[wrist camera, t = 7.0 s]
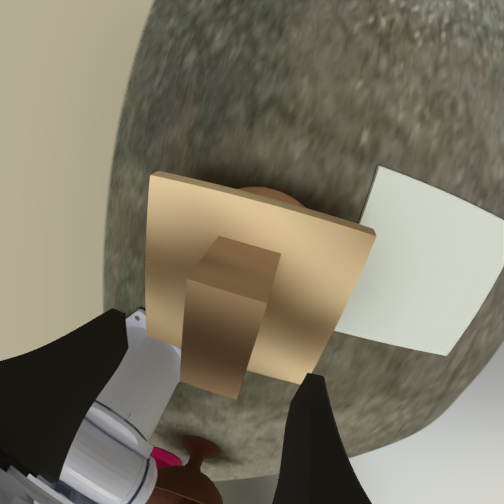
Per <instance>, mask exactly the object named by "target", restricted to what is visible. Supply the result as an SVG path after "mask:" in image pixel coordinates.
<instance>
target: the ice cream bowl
mask: <svg viewBox="0 0 504 504" xmlns="http://www.w3.org/2000/svg"><path fill="white" fill-rule="evenodd" d="M182 443H183V445H184V447H185V448H186V449H187V450H188V451H189V452H190V453H191V456H190V458H189V461H188V463H187V464H186V465H185V466H178V465H174V466H167V467H164V468H161V469H157V480H156V484H155V487H154V489H153V491H152V493H151V495H150V497H149V499H148V500H147V502H146V504H223V500H222V497H221V495H220V493H219V491H218V490H217V488H216V486H215V485H214V483H213V482H212V481H211V480H210V479H209V478H208V477H207V476H206V475H204V474H203V473H201V470H200V466H201V464H202V461H203V459H204V458H212V457H215V456H218V455H219V454H220V453H221V452H220V449H219V447H218V446H216V445H215V444H213V443H212V442H210V441H208V440H205V439H202V438H199V437H193V436H186V437H184V438H182Z"/></svg>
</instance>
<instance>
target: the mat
mask: <svg viewBox="0 0 504 504" xmlns="http://www.w3.org/2000/svg"><path fill="white" fill-rule="evenodd" d="M358 224H360V225H363V226H367V227H370V228H373V229H374V231H375V234H376V239H375V241H374V244H373V246H372V249H371V251H370V253H369V256H368V258H367V260H366V263H365V265H364V267H363V270H362V272H361V274H360V277H359V279H358V281H357V283H356V285H355V288H354V290H353V292H352V294H351V296H350V298H349V301H348V303H347V305H346V307H345V309H344V311H343V313H342V315H341V317H340V319H339V321H338V323H337V325H336V327H335V329H334V331H338V332H342V333H346V334H350V335H354V336H358V337H362V338H366V339H370V340H375V341H379V342H383V343H388V344H392V345H397V346H401V347H406V348H410V349H415V350H420V351H425V352H429V353H434V354H439V355H445V356H447V355H448V353H449V352H450V351H451V349H452V348H453V347H454V345H455V344H456V342H457V341H458V340H459V338H460V337H461V335H462V334H463V333H464V331H465V330H466V328H467V327H468V325H469V324H470V322H471V321H472V319H473V318H474V316H475V315H476V313H477V311H478V310H479V308H480V307H481V305H482V303H483V302H484V300H485V298H486V297H487V295H488V293H489V292H490V290H491V288H492V286H493V285H494V283H495V281H496V279H497V277H498V276H499V274H500V272H501V270H502V268H503V266H504V220H503V219H501V218H500V217H498V216H496V215H494V214H492V213H490V212H488V211H486V210H484V209H482V208H480V207H478V206H476V205H474V204H472V203H470V202H468V201H465V200H463V199H461V198H459V197H457V196H455V195H452V194H450V193H448V192H446V191H443V190H441V189H439V188H437V187H434V186H432V185H429V184H427V183H425V182H422V181H420V180H417V179H415V178H412V177H410V176H407V175H404V174H402V173H399V172H397V171H394V170H391V169H389V168H386V167H383V166H380V165H378V167H377V170H376V173H375V176H374V179H373V182H372V185H371V188H370V191H369V194H368V197H367V200H366V203H365V206H364V209H363V212H362V214H361V217H360V220H359V223H358Z"/></svg>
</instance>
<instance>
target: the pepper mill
mask: <svg viewBox="0 0 504 504" xmlns="http://www.w3.org/2000/svg"><path fill="white" fill-rule="evenodd" d="M150 456H151V457H153V458H154V459H155V462H156V468H157V469H161V468H164V467H167V466H174V465H178V466H181V461H180V459H179V458H177V457H176V456H175V455H173V454H171V453H169V452H167V451H165V450H162V449H160V448H156V447H153V449H152V452H151V454H150ZM145 504H146V503H145Z"/></svg>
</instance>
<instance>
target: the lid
mask: <svg viewBox="0 0 504 504" xmlns="http://www.w3.org/2000/svg"><path fill="white" fill-rule="evenodd" d="M375 239H376V234H375V231H374V229H373V228H370V227H367V226H363V225H360V224H357V223H354V222H351V221H348V220H344V219H341V218H338V217H335V216H331V215H328V214H325V213H321V212H318V211H315V210H311V209H308V208H304V207H301V206H297V205H294V204H290V203H287V202H283V201H279V200H276V199H272V198H268V197H265V196H261V195H257V194H253V193H250V192H246V191H242V190H238V189H234V188H230V187H226V186H222V185H218V184H214V183H210V182H205V181H201V180H197V179H193V178H188V177H184V176H180V175H175V174H171V173H166V172H161V171H157V172H155V173H153V174H151V175H150V182H149V195H148V210H147V228H146V259H145V307H146V335H147V336H149V337H152V338H154V339H157V340H160V341H162V342H165V343H167V344H170V345H173V346H175V347H178V348H181V361H180V380H179V381H181V382H184V383H187V384H189V385H192V386H195V387H198V388H201V389H204V390H207V391H210V392H213V393H216V394H219V395H222V396H225V397H229V398H232V399H235V400H237V397H238V394H239V391H240V388H241V385H242V382H243V379H244V376H245V373H246V370H248V371H252V372H255V373H259V374H262V375H266V376H269V377H273V378H277V379H281V380H285V381H289V382H293V383H297V384H301V383H302V382H303V380H304V378H305V376H306V374H307V373H312V371H313V369H314V367H315V365H316V363H317V362H318V360H319V358H320V356H321V354H322V352H323V351H324V349H325V347H326V345H327V343H328V341H329V339H330V337H331V335H332V333H333V331H334V329H335V327H336V325H337V323H338V321H339V319H340V317H341V315H342V313H343V311H344V309H345V307H346V305H347V303H348V301H349V298H350V296H351V294H352V292H353V290H354V288H355V285H356V283H357V281H358V279H359V277H360V274H361V272H362V270H363V267H364V265H365V263H366V260H367V258H368V256H369V253H370V251H371V249H372V246H373V244H374V241H375Z"/></svg>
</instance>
